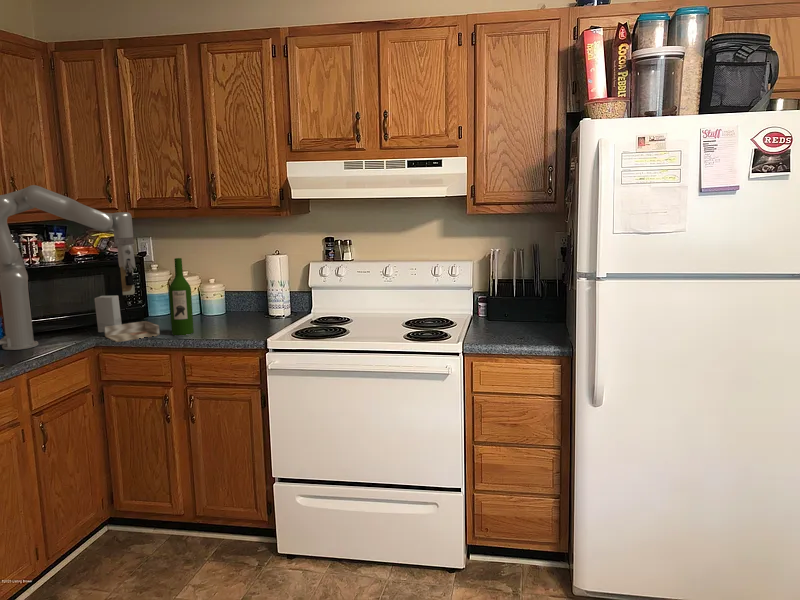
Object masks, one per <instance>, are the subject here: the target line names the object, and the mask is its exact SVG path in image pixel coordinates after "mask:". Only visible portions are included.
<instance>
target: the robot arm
mask: <svg viewBox="0 0 800 600" xmlns="http://www.w3.org/2000/svg"><path fill="white" fill-rule="evenodd" d="M33 209H37V210H40V211H43V212H45V213H49V214H51V215H54V216H57V217H58V218H59V217H60V218H62V219H64V220H67V221H72V222H75V223H78V224H80V225H83V226H85V227H88V228H91V229H94V230H96V231H99V232H108V231H110V230H113V240H114V242H113V243H114V247H117V261H118V266H119V268H120V266H122V267H123V269H124V270H125V273H126V276H125V280H126V285H127V286H128V285H134V286H135V277H134V270H135V269H136V259H135V253H134V248H133V247H134V246H135V240H134V231H133V230H134V229H133V219H132V218H133V217H132V214H131V213H130V212H128V211H127V212H126V211H125V212H124V211H122V212H119V211H118V212H114V213H112V212H104V211H101V210H98V209H96V208H93V207H90V206H88V205H85V204H84V203H81V202H79V201H77V200H75V199H73V198H71V197H68V196H65V195H63V194H61V193H58V192H55V191H53V190H50V189H47V188H45V187H43V186H39V185H36V184H32V185H29V186H27V187H25V188H22V189H19V190H16V191H12V192H8V193H5V194H0V297H1V298H0V299H1V305H2V314H3V315H2V316H3V322H4V333H5V335H4V336H3V338H1V339H0V346H1V347H2V350H6V351H20V350H26V349H31V348H35V347H37V346H39V341H37V340H34V330H33V320H32V310H31V303H30V294H29V281H28V280H29V275H28V270H26V267H25V263H24V259H23V258H22V255H21V252H20V249H19V247H18V245H17V244H16V243H15V242H14V240H13V237H12V235H11V231H10V228H9V224H8V218H9V217H11V216H13V215H16V214H21V213H23V212H26V211H27V212H28V211H30V210H33ZM126 267H128V268H126ZM132 269H133V271H132Z"/></svg>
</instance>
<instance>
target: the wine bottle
mask: <svg viewBox="0 0 800 600" xmlns="http://www.w3.org/2000/svg"><path fill="white" fill-rule="evenodd" d="M183 271H184V270H183V258H182V257H176V258H174V275H175V276H174V278H173V280H171V283H170V285H169V289H168V292H169V293H168V294H169V307H170V308H169V309H170V321H171V322H170V323H171V325H170V326H171V334H172V335H173V336H175V335H184V336H187V335H186V334H190V335H192V334H191V333H193V334H194V332H195V330H194V329H195V328H194V316H193V314H194V312H193V302H192V288H191V284H189V282H188V281H187V279H186V278H185V276H184V272H183Z"/></svg>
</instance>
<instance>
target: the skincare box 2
mask: <svg viewBox="0 0 800 600" xmlns="http://www.w3.org/2000/svg"><path fill="white" fill-rule="evenodd" d="M119 268H120V269H119V270H120V280H121V291H122V296H131V295H134V294H135V293H136V290H135V284H134V285H128V286H127V285H126V280H125V276H126V273H125V270H124V269H123V267H122V266H120V267H119ZM126 268H128V267H126ZM132 271H133V272H134V269H132Z"/></svg>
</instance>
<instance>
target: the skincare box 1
mask: <svg viewBox="0 0 800 600" xmlns="http://www.w3.org/2000/svg"><path fill="white" fill-rule="evenodd" d="M119 299H120V298H119V295H117V294H116V295H100V296H97V297H94V308H95V314H96V323H97V324H96V325H97V332H98V333H105V331H104V327H106V326H113V325H120V324H123V323H122V315H121V307H120V300H119Z"/></svg>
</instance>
